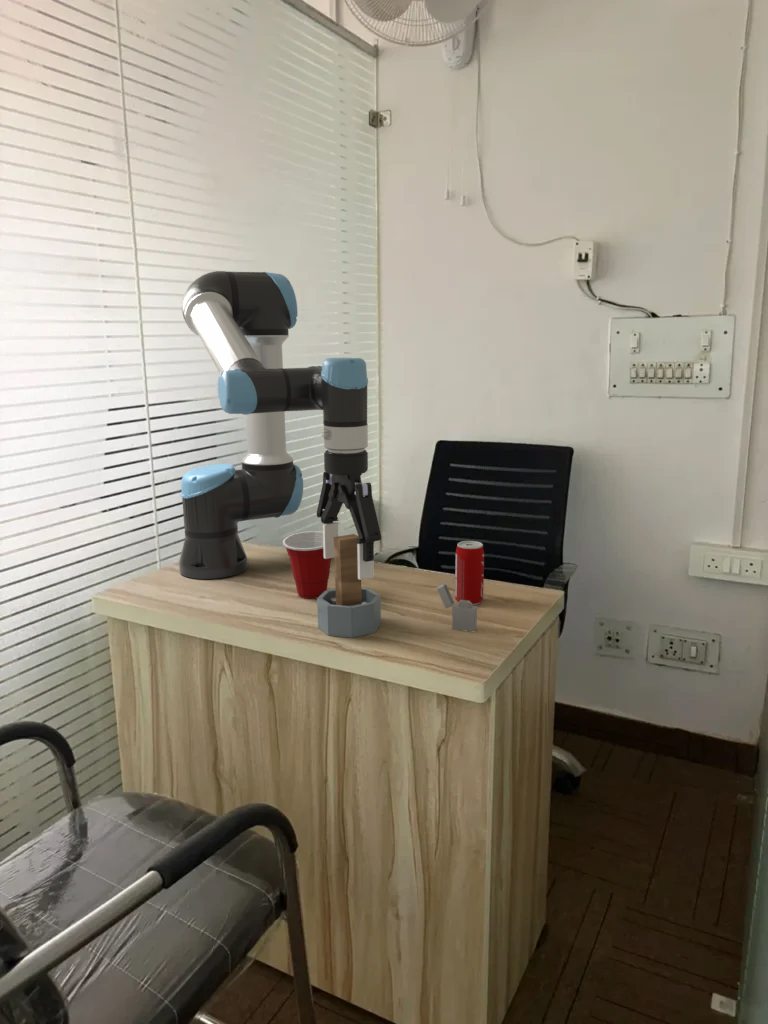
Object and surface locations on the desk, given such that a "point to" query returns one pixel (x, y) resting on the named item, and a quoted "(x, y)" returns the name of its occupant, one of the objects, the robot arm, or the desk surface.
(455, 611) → the lighter
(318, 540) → the plastic cup
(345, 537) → the brown wooden block
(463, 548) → the soda can
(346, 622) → the grey faceted bowl
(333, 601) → the clip
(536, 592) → the desk surface
